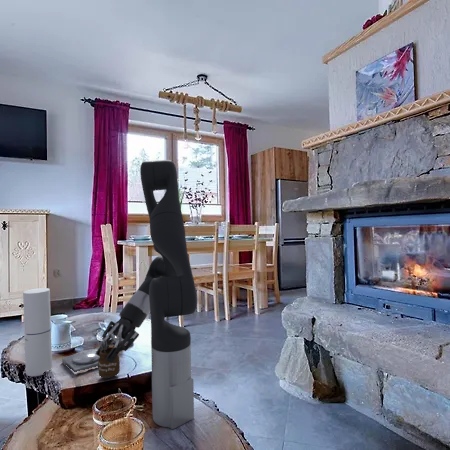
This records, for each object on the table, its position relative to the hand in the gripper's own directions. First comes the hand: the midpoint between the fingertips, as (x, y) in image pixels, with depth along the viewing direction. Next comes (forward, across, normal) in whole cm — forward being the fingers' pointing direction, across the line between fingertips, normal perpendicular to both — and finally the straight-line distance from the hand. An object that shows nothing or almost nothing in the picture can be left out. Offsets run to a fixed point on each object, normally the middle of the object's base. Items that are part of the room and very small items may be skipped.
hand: (103, 358), depth 98 cm
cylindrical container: (+12, -20, -3) cm, 24 cm away
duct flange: (+3, -14, +6) cm, 16 cm away
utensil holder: (+3, 0, +5) cm, 6 cm away
